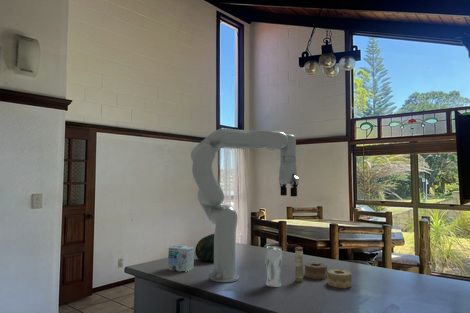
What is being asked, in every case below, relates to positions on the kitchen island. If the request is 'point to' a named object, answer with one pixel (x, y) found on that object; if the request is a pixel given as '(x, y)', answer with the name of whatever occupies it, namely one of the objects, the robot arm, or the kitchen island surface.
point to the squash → (205, 248)
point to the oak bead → (339, 278)
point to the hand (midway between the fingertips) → (288, 195)
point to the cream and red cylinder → (298, 264)
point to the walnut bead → (316, 270)
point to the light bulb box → (181, 258)
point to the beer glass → (273, 265)
